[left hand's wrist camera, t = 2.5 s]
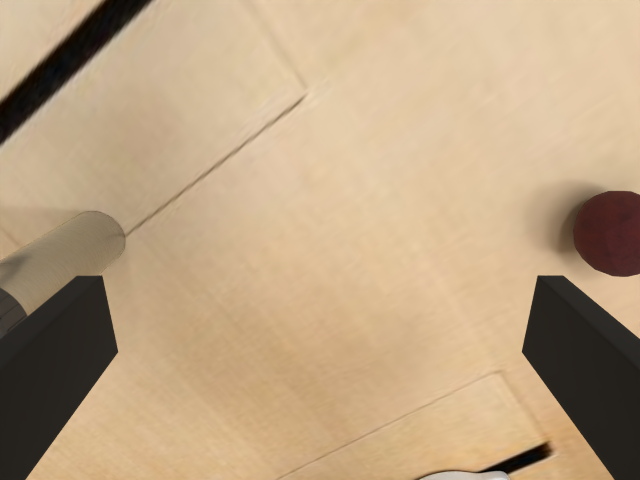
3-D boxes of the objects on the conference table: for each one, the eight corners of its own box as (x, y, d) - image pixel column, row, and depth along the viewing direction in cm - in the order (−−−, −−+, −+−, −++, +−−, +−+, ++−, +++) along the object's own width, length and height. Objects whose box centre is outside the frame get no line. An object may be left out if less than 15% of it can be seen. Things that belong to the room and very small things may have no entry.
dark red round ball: (574, 268, 43) (620, 303, 37) (544, 208, 41) (588, 233, 34) (645, 231, 42) (706, 260, 35) (619, 166, 39) (679, 184, 33)
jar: (62, 245, 42) (-97, 350, 26) (81, 200, 41) (-76, 283, 25) (113, 271, 43) (-9, 387, 27) (133, 228, 42) (17, 326, 26)
